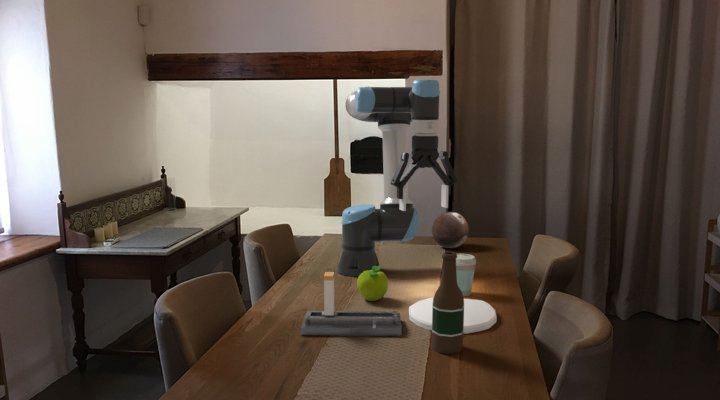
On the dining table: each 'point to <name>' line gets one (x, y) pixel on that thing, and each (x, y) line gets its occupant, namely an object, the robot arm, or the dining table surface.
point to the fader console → (352, 323)
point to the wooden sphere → (450, 230)
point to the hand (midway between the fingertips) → (423, 208)
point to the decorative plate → (475, 315)
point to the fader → (329, 295)
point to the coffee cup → (465, 272)
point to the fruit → (372, 284)
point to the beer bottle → (448, 310)
